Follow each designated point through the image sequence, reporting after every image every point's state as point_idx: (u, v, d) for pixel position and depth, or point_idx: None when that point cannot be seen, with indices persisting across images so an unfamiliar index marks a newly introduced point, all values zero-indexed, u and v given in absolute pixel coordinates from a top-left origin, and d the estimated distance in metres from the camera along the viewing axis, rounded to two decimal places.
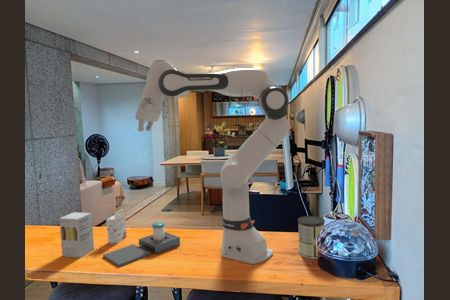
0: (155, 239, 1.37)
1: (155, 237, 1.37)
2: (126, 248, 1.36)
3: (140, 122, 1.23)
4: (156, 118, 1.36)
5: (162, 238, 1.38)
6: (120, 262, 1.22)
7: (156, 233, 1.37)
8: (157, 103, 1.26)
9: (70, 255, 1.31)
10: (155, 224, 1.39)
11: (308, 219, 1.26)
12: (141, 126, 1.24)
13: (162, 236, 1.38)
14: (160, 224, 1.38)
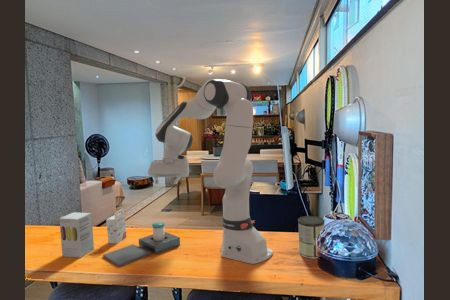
0: (155, 239, 1.37)
1: (155, 237, 1.37)
2: (126, 248, 1.36)
3: None
4: (180, 171, 1.50)
5: (162, 238, 1.38)
6: (120, 262, 1.22)
7: (156, 233, 1.37)
8: (163, 158, 1.55)
9: (70, 255, 1.31)
10: (155, 224, 1.39)
11: (308, 219, 1.26)
12: (155, 179, 1.51)
13: (162, 236, 1.38)
14: (160, 224, 1.38)
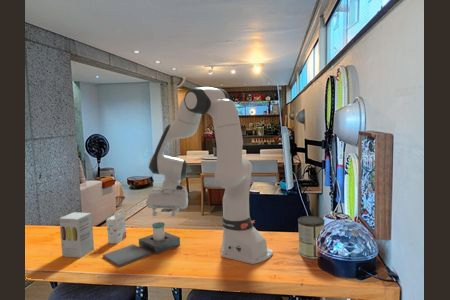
0: (155, 239, 1.37)
1: (155, 237, 1.37)
2: (126, 248, 1.36)
3: None
4: (178, 202, 1.46)
5: (162, 238, 1.38)
6: (120, 262, 1.22)
7: (156, 233, 1.37)
8: (162, 188, 1.51)
9: (70, 255, 1.31)
10: (155, 224, 1.39)
11: (308, 219, 1.26)
12: (153, 211, 1.47)
13: (162, 236, 1.38)
14: (160, 224, 1.38)
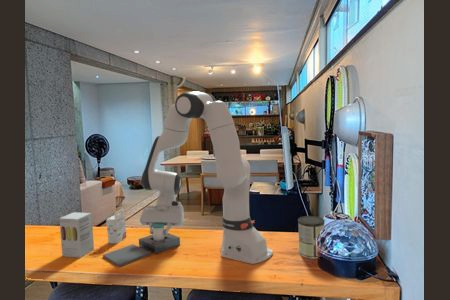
0: (155, 239, 1.37)
1: (155, 237, 1.37)
2: (126, 248, 1.36)
3: None
4: (173, 219, 1.40)
5: (162, 238, 1.38)
6: (120, 262, 1.22)
7: (156, 233, 1.37)
8: (156, 204, 1.44)
9: (70, 255, 1.31)
10: (155, 224, 1.39)
11: (308, 219, 1.26)
12: (150, 228, 1.40)
13: (162, 236, 1.38)
14: (160, 224, 1.38)
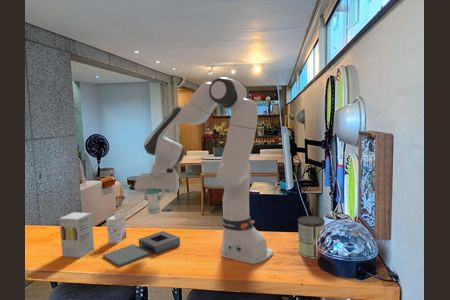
0: (149, 205, 1.35)
1: (149, 203, 1.35)
2: (126, 248, 1.36)
3: None
4: (168, 186, 1.37)
5: (156, 204, 1.35)
6: (120, 262, 1.22)
7: (150, 199, 1.34)
8: (151, 171, 1.42)
9: (70, 255, 1.31)
10: (149, 190, 1.36)
11: (308, 219, 1.26)
12: None
13: (156, 202, 1.35)
14: (154, 190, 1.36)
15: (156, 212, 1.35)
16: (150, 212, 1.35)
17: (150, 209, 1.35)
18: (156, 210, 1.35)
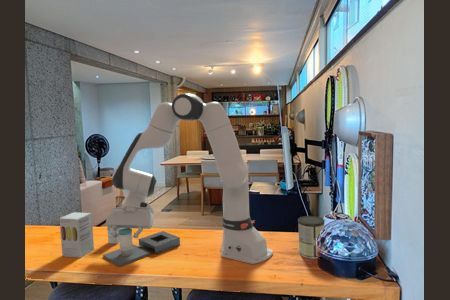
0: (121, 246, 1.28)
1: (121, 244, 1.28)
2: None
3: None
4: (141, 222, 1.30)
5: (129, 245, 1.28)
6: (120, 262, 1.22)
7: (122, 240, 1.27)
8: (124, 206, 1.35)
9: (70, 255, 1.31)
10: (122, 230, 1.29)
11: (308, 219, 1.26)
12: None
13: (129, 243, 1.28)
14: (127, 230, 1.29)
15: (129, 254, 1.28)
16: (122, 254, 1.28)
17: (122, 251, 1.28)
18: (129, 251, 1.28)
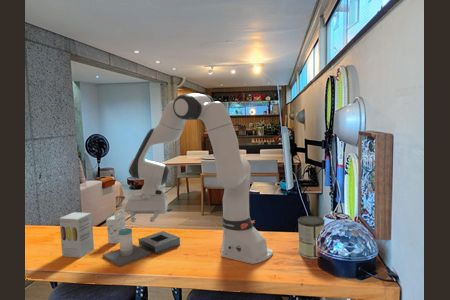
0: (121, 246, 1.28)
1: (121, 244, 1.28)
2: None
3: None
4: (157, 207, 1.43)
5: (129, 245, 1.28)
6: (120, 262, 1.22)
7: (122, 240, 1.27)
8: (140, 193, 1.48)
9: (70, 255, 1.31)
10: (122, 230, 1.29)
11: (308, 219, 1.26)
12: None
13: (129, 243, 1.28)
14: (127, 230, 1.29)
15: (129, 254, 1.28)
16: (122, 254, 1.28)
17: (122, 251, 1.28)
18: (129, 251, 1.28)
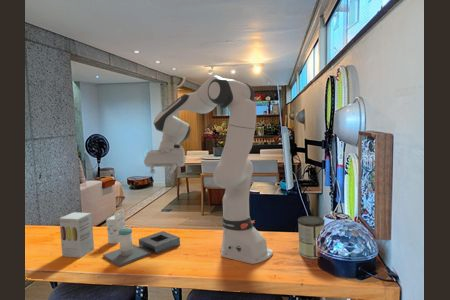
0: (121, 246, 1.28)
1: (121, 244, 1.28)
2: None
3: None
4: (176, 160, 1.49)
5: (129, 245, 1.28)
6: (120, 262, 1.22)
7: (122, 240, 1.27)
8: (159, 147, 1.54)
9: (70, 255, 1.31)
10: (122, 230, 1.29)
11: (308, 219, 1.26)
12: (151, 168, 1.50)
13: (129, 243, 1.28)
14: (127, 230, 1.29)
15: (129, 254, 1.28)
16: (122, 254, 1.28)
17: (122, 251, 1.28)
18: (129, 251, 1.28)
